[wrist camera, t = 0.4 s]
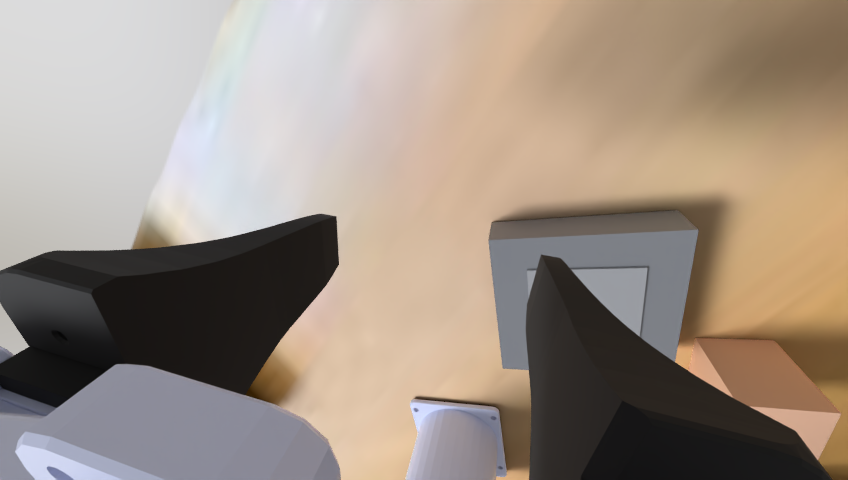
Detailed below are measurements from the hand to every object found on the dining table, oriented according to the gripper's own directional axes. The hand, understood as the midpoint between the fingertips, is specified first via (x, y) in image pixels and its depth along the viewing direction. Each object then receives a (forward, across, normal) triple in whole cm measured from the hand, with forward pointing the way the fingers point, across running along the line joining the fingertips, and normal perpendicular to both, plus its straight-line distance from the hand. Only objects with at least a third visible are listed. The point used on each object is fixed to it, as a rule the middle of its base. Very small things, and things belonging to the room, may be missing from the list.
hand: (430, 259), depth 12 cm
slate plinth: (+10, -8, +6) cm, 14 cm away
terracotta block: (+10, -18, +10) cm, 23 cm away
